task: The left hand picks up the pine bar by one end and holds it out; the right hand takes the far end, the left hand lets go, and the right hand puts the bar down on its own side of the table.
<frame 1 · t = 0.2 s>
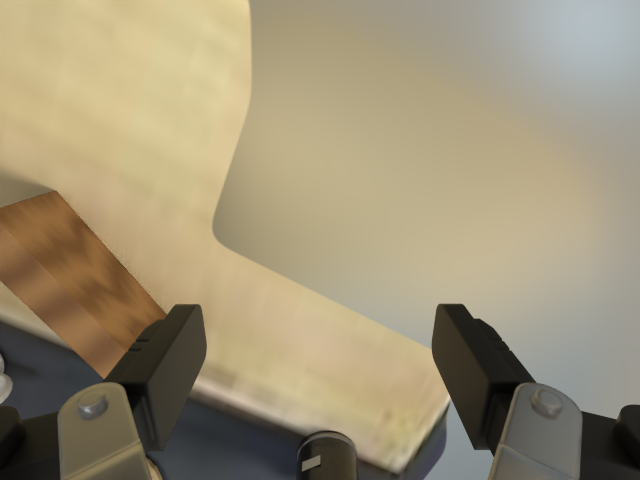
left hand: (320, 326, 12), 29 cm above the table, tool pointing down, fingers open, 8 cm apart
bar: (113, 279, 43), on the table
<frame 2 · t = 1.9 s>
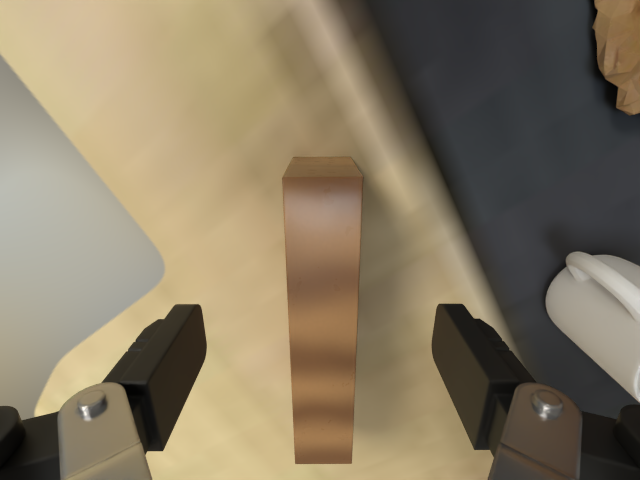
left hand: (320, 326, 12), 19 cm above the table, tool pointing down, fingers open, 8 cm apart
bar: (322, 286, 32), on the table
mug: (575, 277, 32), on the table
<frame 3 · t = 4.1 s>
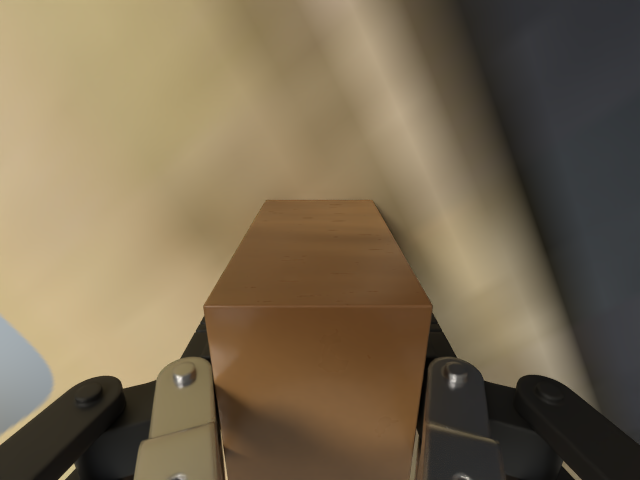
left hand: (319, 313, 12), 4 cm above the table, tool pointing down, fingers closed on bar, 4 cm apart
bar: (319, 406, 19), on the table, touching left hand
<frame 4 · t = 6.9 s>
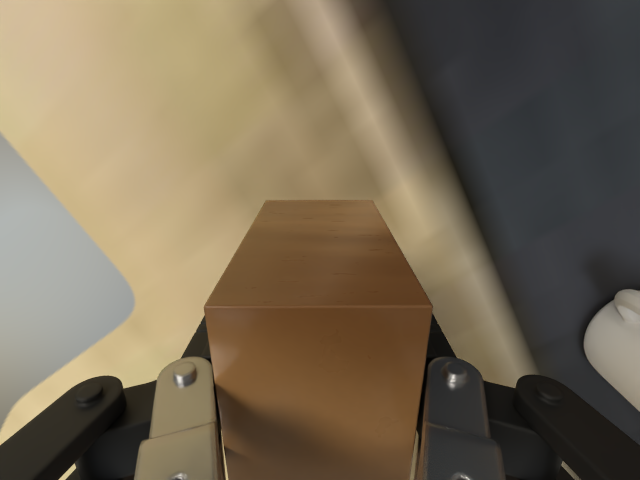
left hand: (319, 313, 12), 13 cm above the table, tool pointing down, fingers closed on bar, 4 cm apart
bar: (319, 406, 19), point 8 cm above the table, touching left hand
mug: (619, 314, 27), on the table
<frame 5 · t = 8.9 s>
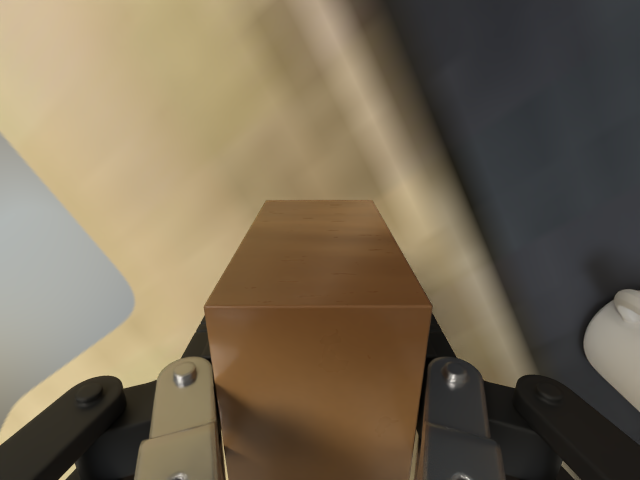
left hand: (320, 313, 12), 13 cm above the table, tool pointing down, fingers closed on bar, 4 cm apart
bar: (319, 406, 19), point 8 cm above the table, touching left hand, right hand
mug: (619, 314, 27), on the table
when the left hand's fingers open (13 cm above the table, at t = 9.9 s): bar stays where it is, held by the right hand.
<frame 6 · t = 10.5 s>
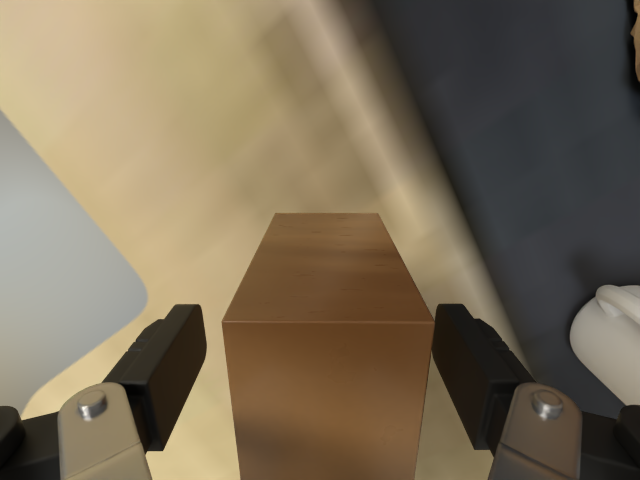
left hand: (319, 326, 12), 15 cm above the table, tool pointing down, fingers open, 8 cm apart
bar: (325, 412, 20), point 10 cm above the table, touching right hand
mug: (603, 309, 29), on the table
when the right hand's fingers open (6 cm above the table, at t = 13.8 s): bar drops 1 cm, on the table.
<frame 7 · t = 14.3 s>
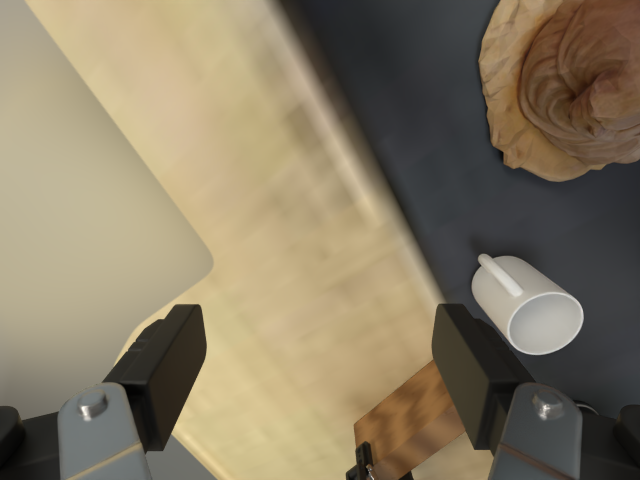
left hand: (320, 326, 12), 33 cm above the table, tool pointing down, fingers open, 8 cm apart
sculpture: (591, 54, 38), on the table
bar: (415, 390, 55), on the table
mug: (491, 271, 47), on the table
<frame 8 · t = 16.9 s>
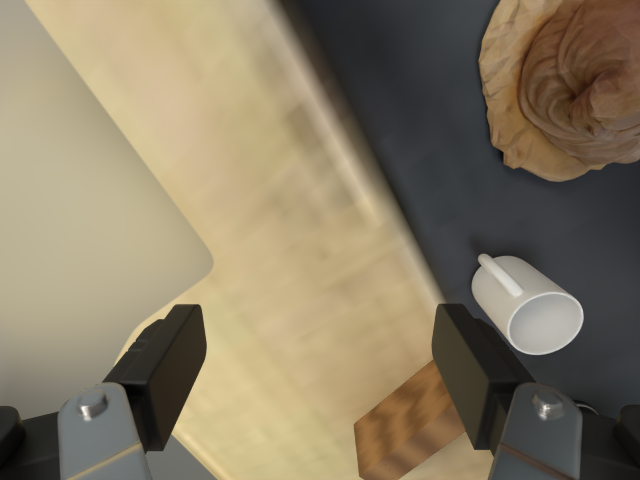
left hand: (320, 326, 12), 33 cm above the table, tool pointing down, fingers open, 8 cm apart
sculpture: (591, 54, 38), on the table
bar: (415, 390, 55), on the table
mug: (491, 271, 47), on the table
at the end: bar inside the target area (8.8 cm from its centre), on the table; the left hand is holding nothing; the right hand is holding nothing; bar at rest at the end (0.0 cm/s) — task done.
